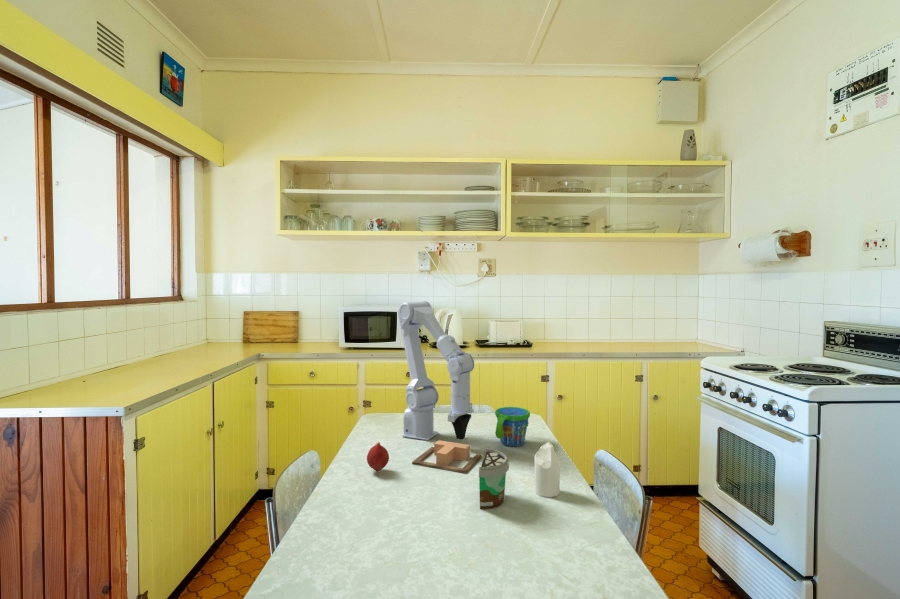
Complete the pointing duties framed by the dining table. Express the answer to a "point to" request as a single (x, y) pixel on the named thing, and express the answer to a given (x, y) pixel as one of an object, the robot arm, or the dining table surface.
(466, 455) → the T block
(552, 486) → the white piece
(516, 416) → the snack cup
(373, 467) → the onion
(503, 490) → the food container
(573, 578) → the dining table surface
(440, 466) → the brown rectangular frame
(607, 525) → the dining table surface
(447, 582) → the dining table surface
